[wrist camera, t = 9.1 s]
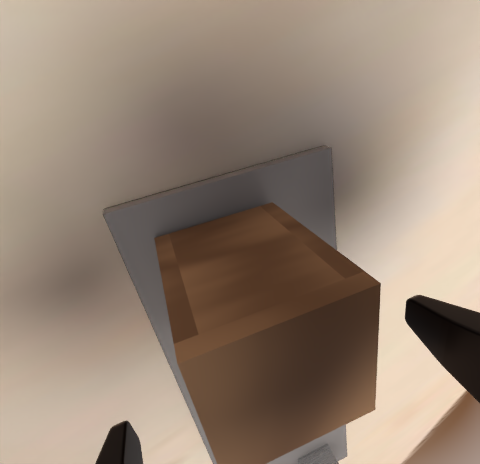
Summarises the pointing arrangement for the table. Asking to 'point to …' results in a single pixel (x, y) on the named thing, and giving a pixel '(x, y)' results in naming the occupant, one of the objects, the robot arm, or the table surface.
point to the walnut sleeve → (269, 332)
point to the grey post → (319, 456)
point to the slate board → (214, 207)
